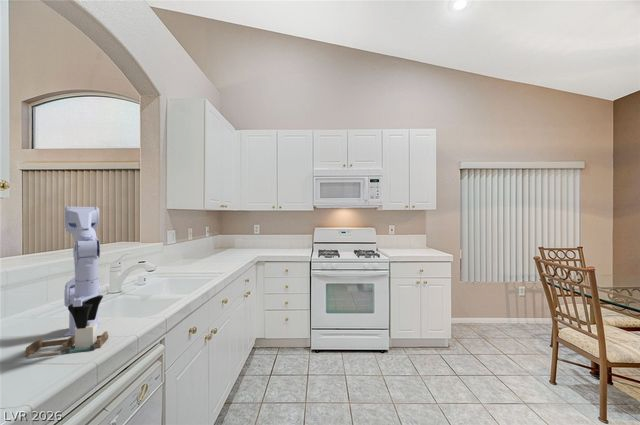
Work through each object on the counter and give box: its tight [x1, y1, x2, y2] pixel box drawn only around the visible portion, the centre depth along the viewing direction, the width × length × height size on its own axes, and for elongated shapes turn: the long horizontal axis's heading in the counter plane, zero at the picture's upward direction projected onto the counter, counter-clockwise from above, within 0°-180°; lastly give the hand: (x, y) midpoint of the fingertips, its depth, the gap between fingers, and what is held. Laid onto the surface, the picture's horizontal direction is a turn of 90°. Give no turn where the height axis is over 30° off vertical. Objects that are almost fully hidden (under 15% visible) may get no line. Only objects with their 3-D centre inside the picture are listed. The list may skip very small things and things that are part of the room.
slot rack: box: [25, 330, 109, 359], centre depth 94 cm, size 9×18×2 cm, turn 109°
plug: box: [74, 322, 98, 349], centre depth 95 cm, size 4×4×7 cm
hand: (86, 323), depth 95 cm, fingers open, 7 cm apart
